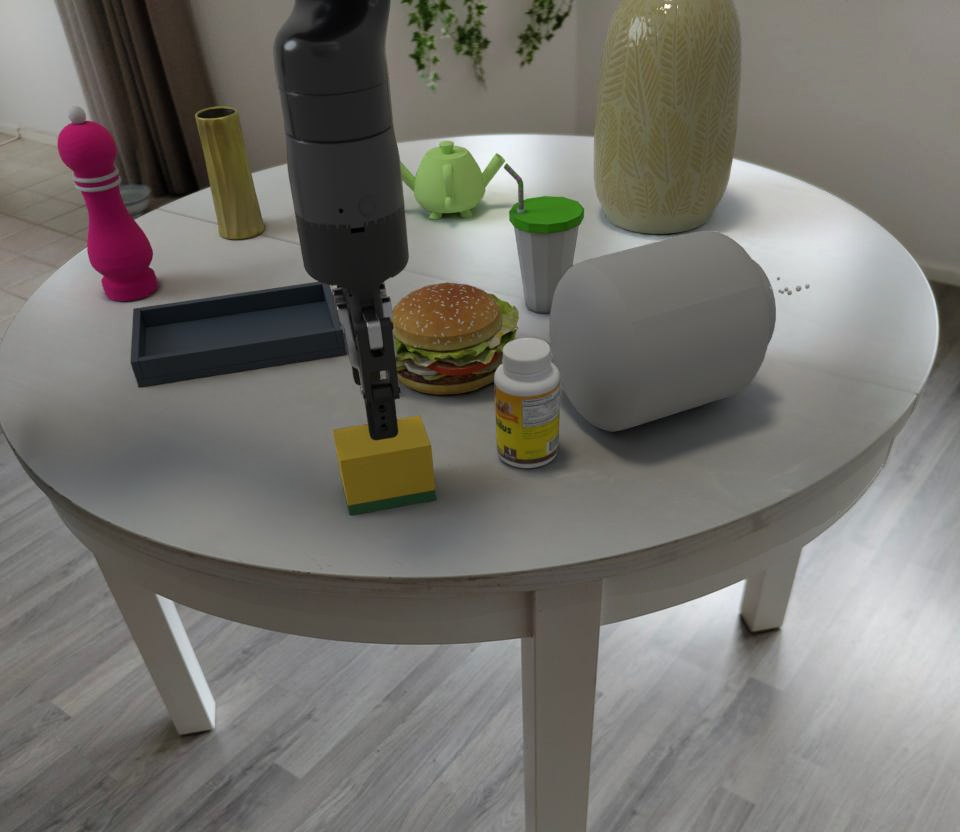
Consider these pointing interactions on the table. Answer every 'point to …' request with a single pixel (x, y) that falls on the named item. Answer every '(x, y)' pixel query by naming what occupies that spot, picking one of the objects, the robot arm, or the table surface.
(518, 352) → the supplement bottle
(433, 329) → the food
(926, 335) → the table surface
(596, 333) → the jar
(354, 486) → the sponge
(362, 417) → the table surface
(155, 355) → the tray
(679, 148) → the vase
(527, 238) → the cup
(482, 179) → the teapot
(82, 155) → the pepper mill
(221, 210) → the vase
